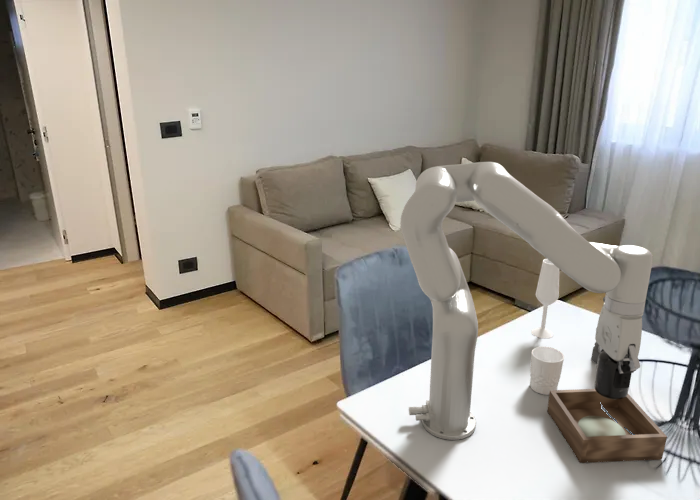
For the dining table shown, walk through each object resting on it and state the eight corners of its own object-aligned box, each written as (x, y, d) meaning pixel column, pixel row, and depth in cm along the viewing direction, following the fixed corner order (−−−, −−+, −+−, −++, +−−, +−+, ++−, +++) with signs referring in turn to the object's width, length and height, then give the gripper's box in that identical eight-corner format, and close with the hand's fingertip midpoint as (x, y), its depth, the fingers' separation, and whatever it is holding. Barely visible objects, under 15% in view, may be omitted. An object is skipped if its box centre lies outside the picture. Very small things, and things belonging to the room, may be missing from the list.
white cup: (538, 398, 139) (543, 364, 135) (521, 381, 146) (525, 348, 142) (565, 393, 141) (570, 359, 137) (547, 377, 148) (551, 344, 144)
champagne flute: (538, 326, 175) (547, 255, 167) (557, 333, 171) (567, 261, 162) (526, 332, 171) (534, 261, 163) (545, 340, 167) (555, 267, 158)
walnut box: (580, 463, 117) (583, 440, 115) (547, 411, 134) (549, 390, 132) (661, 459, 118) (667, 436, 116) (618, 408, 135) (622, 387, 132)
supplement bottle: (620, 383, 125) (628, 336, 120) (632, 401, 118) (641, 352, 114) (589, 382, 125) (596, 335, 121) (599, 400, 119) (606, 351, 115)
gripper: (587, 288, 123) (578, 358, 129) (628, 324, 106) (615, 402, 112) (620, 286, 123) (609, 356, 129) (666, 322, 107) (651, 400, 113)
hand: (612, 377), depth 120 cm, fingers closed on supplement bottle, 6 cm apart
